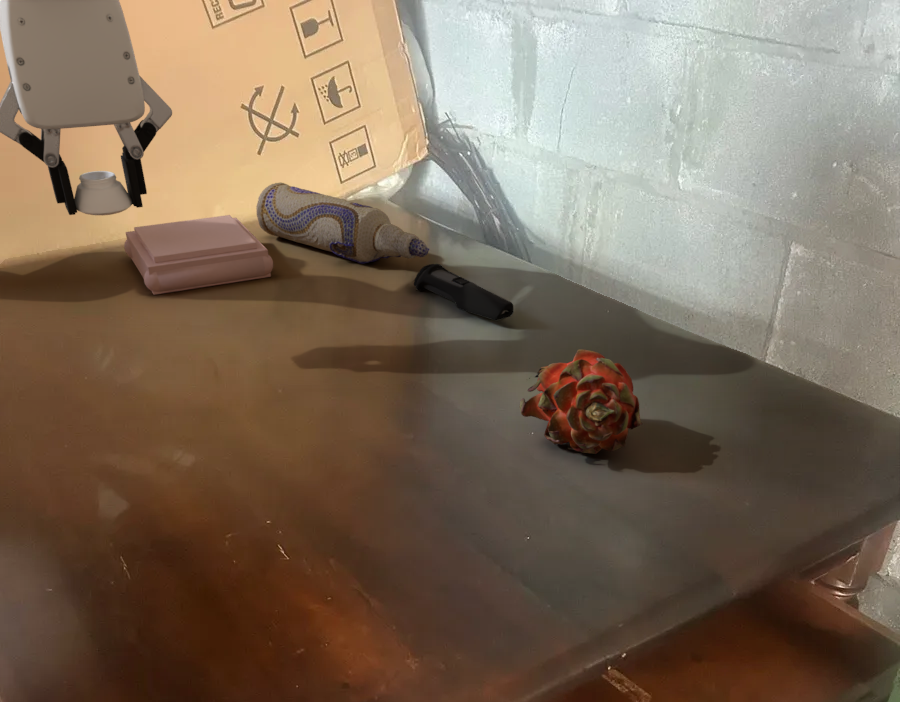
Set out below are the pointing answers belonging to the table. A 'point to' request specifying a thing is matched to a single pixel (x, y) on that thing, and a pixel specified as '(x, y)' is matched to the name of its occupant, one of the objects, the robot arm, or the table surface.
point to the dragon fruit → (585, 403)
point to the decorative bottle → (334, 225)
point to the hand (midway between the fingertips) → (103, 204)
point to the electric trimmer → (463, 292)
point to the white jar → (101, 194)
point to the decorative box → (196, 254)
